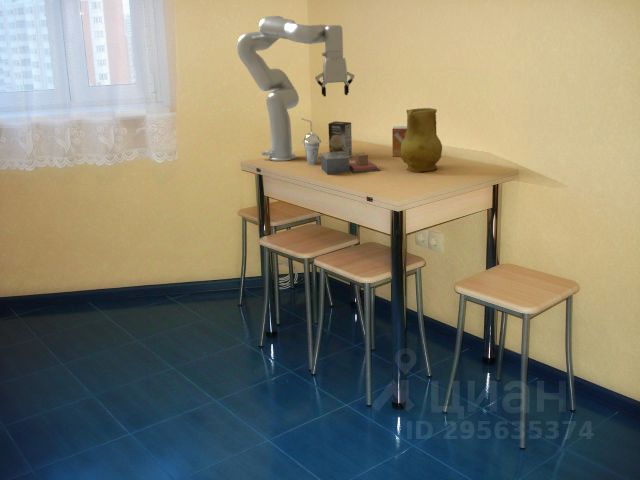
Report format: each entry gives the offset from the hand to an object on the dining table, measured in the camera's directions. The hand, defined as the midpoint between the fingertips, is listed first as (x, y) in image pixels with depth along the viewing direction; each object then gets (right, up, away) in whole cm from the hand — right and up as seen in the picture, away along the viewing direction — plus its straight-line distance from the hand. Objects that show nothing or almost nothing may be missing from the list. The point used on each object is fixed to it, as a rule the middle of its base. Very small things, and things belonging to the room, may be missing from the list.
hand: (335, 95), depth 319 cm
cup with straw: (-10, -29, +10) cm, 32 cm away
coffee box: (+3, -25, +20) cm, 32 cm away
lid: (+11, -32, -4) cm, 34 cm away
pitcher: (+36, -33, -11) cm, 51 cm away
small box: (+31, -24, +18) cm, 43 cm away
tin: (0, -33, -6) cm, 34 cm away
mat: (+11, -32, -4) cm, 34 cm away
